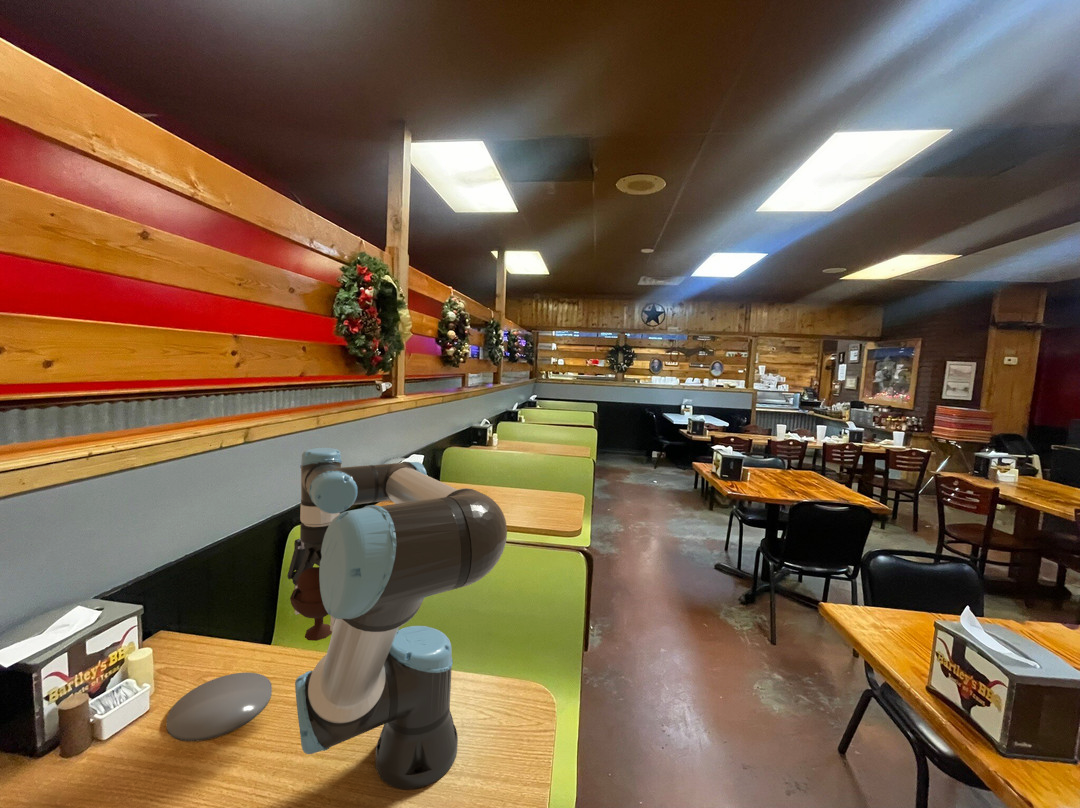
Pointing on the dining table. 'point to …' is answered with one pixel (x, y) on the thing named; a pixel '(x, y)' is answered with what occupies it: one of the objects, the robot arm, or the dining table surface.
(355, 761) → the dining table surface
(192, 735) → the grey smooth oval disc
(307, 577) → the ice cream bowl
